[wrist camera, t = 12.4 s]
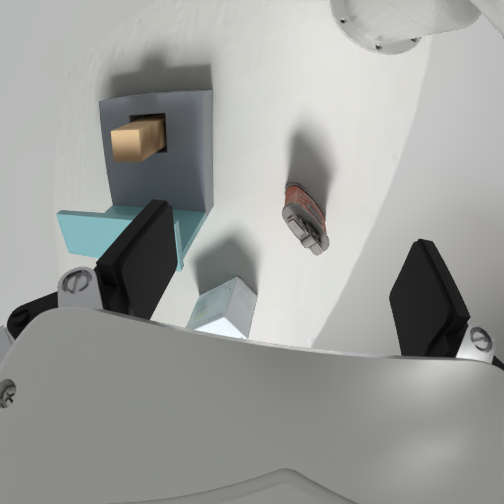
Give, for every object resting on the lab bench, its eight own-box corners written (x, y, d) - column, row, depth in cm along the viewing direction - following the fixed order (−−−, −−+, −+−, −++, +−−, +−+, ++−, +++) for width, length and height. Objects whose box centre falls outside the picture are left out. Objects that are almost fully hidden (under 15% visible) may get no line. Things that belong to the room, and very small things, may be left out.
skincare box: (236, 273, 51) (223, 317, 43) (258, 296, 54) (250, 340, 45) (197, 294, 56) (181, 335, 48) (218, 314, 58) (206, 354, 50)
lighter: (330, 217, 42) (337, 255, 34) (312, 228, 44) (314, 268, 36) (297, 177, 39) (297, 208, 31) (279, 190, 41) (274, 224, 33)
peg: (148, 115, 36) (110, 130, 28) (172, 114, 36) (138, 129, 28) (149, 140, 39) (113, 161, 31) (173, 140, 38) (141, 162, 30)
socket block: (111, 97, 35) (37, 122, 22) (216, 89, 33) (166, 101, 20) (123, 199, 45) (68, 252, 33) (216, 206, 44) (180, 271, 31)
